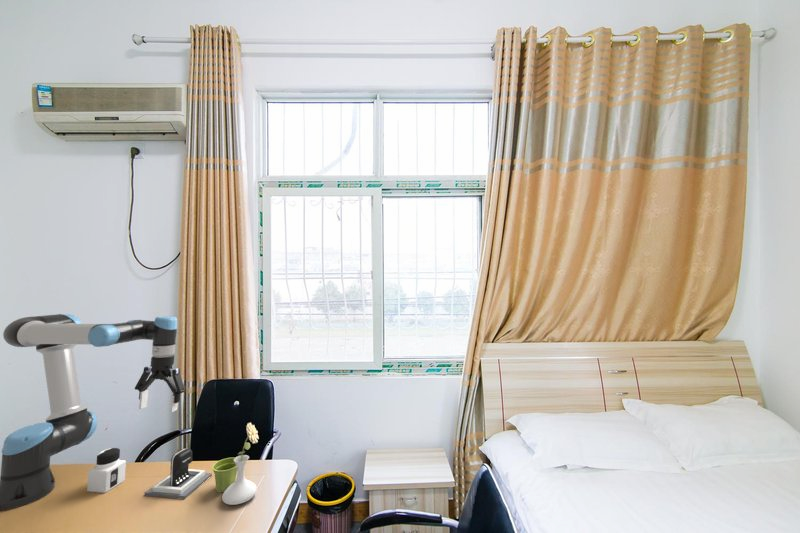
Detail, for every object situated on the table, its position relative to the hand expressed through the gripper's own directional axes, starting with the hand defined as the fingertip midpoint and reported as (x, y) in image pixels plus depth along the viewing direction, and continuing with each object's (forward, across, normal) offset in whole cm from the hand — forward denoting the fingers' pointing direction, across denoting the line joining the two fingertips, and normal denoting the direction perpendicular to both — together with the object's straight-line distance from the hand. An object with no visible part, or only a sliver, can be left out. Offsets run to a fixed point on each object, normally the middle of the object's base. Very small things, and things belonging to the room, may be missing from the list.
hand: (158, 409), depth 127 cm
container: (+28, -14, -6) cm, 31 cm away
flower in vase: (+26, +40, -4) cm, 48 cm away
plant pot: (+26, +32, 0) cm, 41 cm away
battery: (+26, +14, -1) cm, 29 cm away
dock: (+27, +14, -2) cm, 30 cm away
